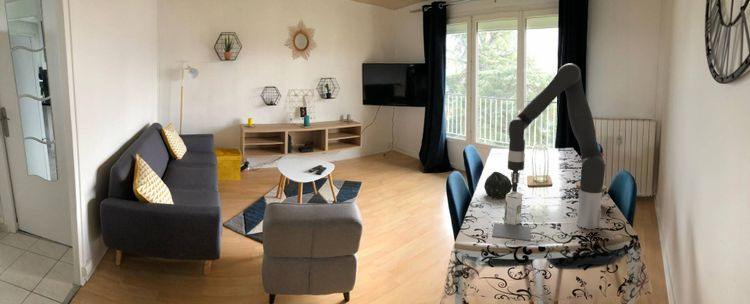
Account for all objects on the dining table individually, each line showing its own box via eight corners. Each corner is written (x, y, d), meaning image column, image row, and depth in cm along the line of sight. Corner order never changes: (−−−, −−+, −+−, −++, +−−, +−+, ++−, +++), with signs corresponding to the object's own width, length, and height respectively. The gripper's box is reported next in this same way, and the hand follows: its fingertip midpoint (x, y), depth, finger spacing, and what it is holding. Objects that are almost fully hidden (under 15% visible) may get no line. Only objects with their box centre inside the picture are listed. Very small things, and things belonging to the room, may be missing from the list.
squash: (515, 183, 262) (498, 163, 261) (518, 192, 248) (499, 171, 247) (495, 198, 267) (477, 178, 266) (496, 208, 253) (478, 187, 252)
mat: (530, 227, 214) (530, 226, 214) (530, 240, 201) (530, 239, 200) (494, 224, 219) (494, 223, 219) (492, 236, 205) (492, 235, 205)
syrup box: (508, 219, 225) (510, 190, 221) (520, 222, 221) (522, 193, 218) (503, 223, 220) (505, 193, 217) (516, 226, 217) (517, 196, 213)
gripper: (524, 163, 216) (522, 199, 220) (524, 156, 228) (522, 190, 232) (507, 162, 218) (505, 197, 222) (508, 155, 230) (506, 189, 235)
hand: (514, 193), depth 227 cm, fingers closed
